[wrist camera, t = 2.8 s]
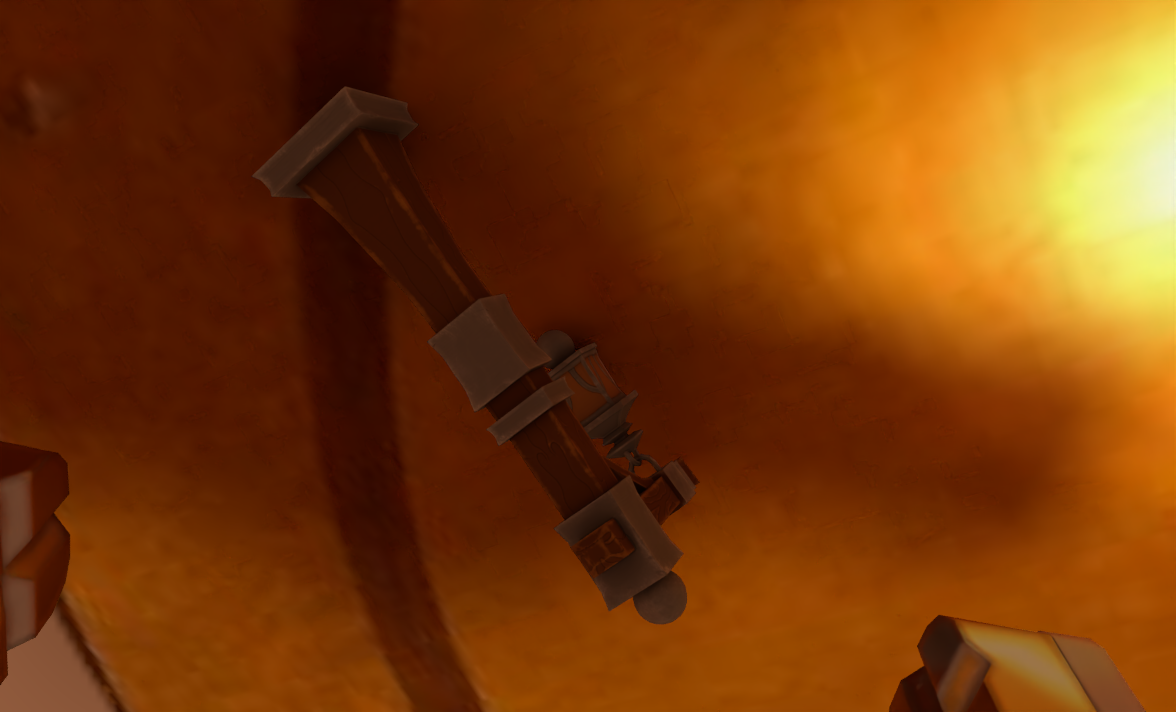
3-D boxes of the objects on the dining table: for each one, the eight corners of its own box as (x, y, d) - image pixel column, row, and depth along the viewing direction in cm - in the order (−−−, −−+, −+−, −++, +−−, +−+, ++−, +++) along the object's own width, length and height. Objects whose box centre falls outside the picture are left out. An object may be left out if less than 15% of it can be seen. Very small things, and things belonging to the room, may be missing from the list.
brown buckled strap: (673, 562, 17) (607, 680, 12) (397, 187, 17) (241, 175, 13) (759, 504, 16) (723, 607, 12) (473, 119, 17) (336, 82, 12)
